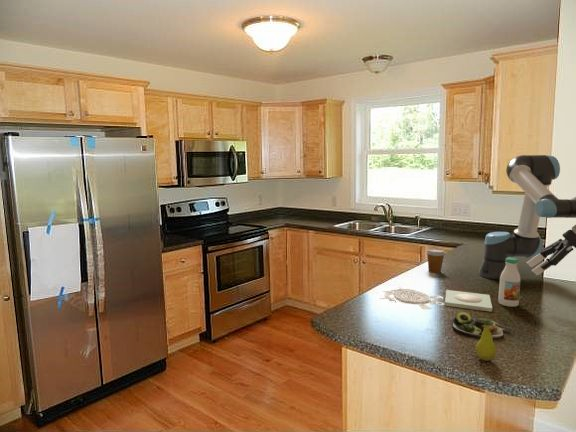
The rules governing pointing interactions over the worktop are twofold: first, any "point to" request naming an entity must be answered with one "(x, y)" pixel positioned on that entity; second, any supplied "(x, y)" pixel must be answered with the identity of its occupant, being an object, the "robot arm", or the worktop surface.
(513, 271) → the milk bottle
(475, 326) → the salad plate
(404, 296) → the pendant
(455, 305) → the locating board
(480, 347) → the fruit
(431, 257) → the disposable coffee cup
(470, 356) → the worktop surface
